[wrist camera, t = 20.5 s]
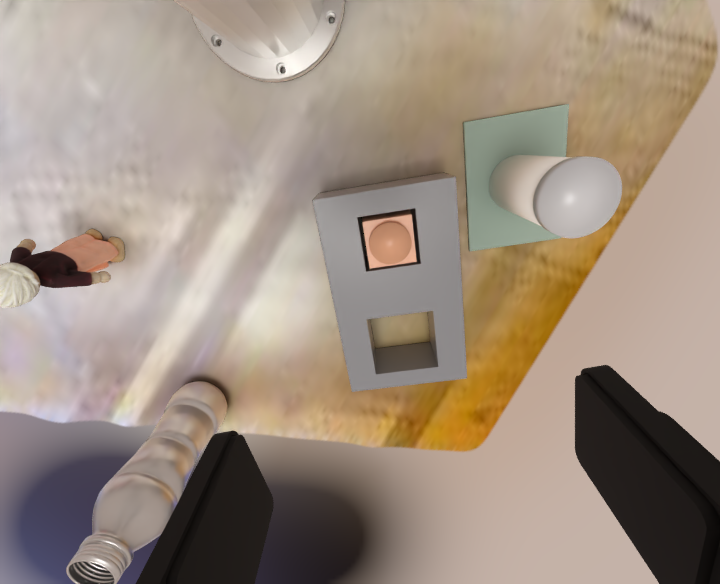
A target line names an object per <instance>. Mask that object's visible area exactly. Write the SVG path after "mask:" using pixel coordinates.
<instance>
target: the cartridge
mask: <svg viewBox="0 0 720 584" xmlns="http://www.w3.org/2000/svg"><path fill="white" fill-rule="evenodd" d="M489 193H490V196H491V198H492V200H493V201H494V203H495V204H496V205H498V206H499V207H501V208H503V209H505V210H507V211H509V212H512V213H514V214H516V215H518V216H520V217H522V218H525V219H527V220H529V221H531V222H533V223H535V224H538V225H540V226H542V227H543V228H544V229H546V230H547V231H549V232H551V233H553V234H555V235H558V236H560V237H564V238H579V237H583V236H586V235H589V234H591V233H593V232H595V231H597V230H598V229H600V228H601V227H602V226H603V225H605V224H606V223H607V222H608V221H609V219H610V218H611V217H612V216H613V214H614V213H615V211H616V209H617V207H618V205H619V202H620V199H621V194H622V182H621V178H620V176H619V173H618V172H617V170H616V169H615V167H614V166H613V165H612V164H610V163H609V162H608V161H606V160H604V159H601V158H597V157H583V156H579V157H572V158H571V157H553V156H535V155H514V156H511V157H508V158H506V159H504V160H503V161H502V162H500V163H499V164H498V165H497V166H496V168H495V169H494V171H493V172H492V174H491V177H490V180H489Z"/></svg>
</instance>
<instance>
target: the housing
mask: <svg viewBox="0 0 720 584" xmlns="http://www.w3.org/2000/svg"><path fill="white" fill-rule="evenodd" d="M312 201H313V206H314V211H315V215H316V220H317V225H318V230H319V235H320V239H321V244H322V249H323V254H324V259H325V264H326V268H327V273H328V278H329V283H330V288H331V293H332V297H333V302H334V307H335V312H336V317H337V322H338V326H339V331H340V336H341V341H342V346H343V351H344V355H345V360H346V365H347V370H348V375H349V380H350V384H351V389H352V392H354V391H362V390H371V389H379V388H388V387H396V386H405V385H413V384H422V383H431V382H439V381H448V380H456V379H465V378H467V369H466V351H465V333H464V315H463V297H462V279H461V261H460V243H459V225H458V207H457V189H456V177H455V176H452V175H449V174H447V173H438V174H432V175H426V176H420V177H414V178H407V179H401V180H395V181H389V182H383V183H377V184H371V185H365V186H359V187H353V188H347V189H341V190H335V191H329V192H322V193H319V194H318V195H317V196H316V197H315V198H314V199H313V200H312ZM407 209H410V212H411V214H412V222H413V231H414V241H415V251H416V260H417V262H411V263H404V264H397V265H391V266H384V267H377V268H370V267H369V261H368V256H366V251H365V244H364V238H363V232H362V226H361V219H360V217H362V216H369V215H375V214H382V213H388V212H394V211H401V210H407ZM426 311H427V312H428V323H429V333H430V342H424V343H416V344H408V345H400V346H392V347H385V348H377V349H375V345H374V339H373V333H372V327H371V321H370V319H374V318H381V317H389V316H396V315H404V314H411V313H419V312H426Z"/></svg>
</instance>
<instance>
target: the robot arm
mask: <svg viewBox="0 0 720 584" xmlns="http://www.w3.org/2000/svg"><path fill="white" fill-rule="evenodd" d="M174 1H175V2H176V3H178V4H179V5H180V6H182V7H183V8H184V9H186V10H187V11H188V12H190V13H191V15H192V18H193V20H194V23H195V25H196V27H197V28H198V30H199V32H200V34H201V36H202V38H203V39H204V40H205V42H206V43H207V44H208V46H209V47H210V48H211V50H212V51H213V52H214V53H215V54H216V55H217V56H218V57H219V58H220V59H221V60H222V61H223V62H224V63H225V64H227V65H228V66H230V67H231V68H233V69H234V70H236V71H237V72H239V73H241V74H243V75H245V76H247V77H250V78H253V79H256V80H260V81H266V82H281V81H289V80H292V79H294V78H297V77H300V76H302V75H304V74H305V73H307V72H308V71H310V70H311V69H313V68H314V67H315V66H316V65H317V64H318V63H319V62H320V61H321V60H322V59H323V58H324V57H325V56H326V54H327V53H328V51H329V50H330V48H331V47H332V45H333V43H334V41H335V39H336V37H337V34H338V32H339V30H340V26H341V22H342V18H343V14H344V7H345V0H174ZM331 17H332V18H334V19H335V21H334V23H332V24H330V23H329V19H330V18H331ZM220 40H221V41H222V44H221V46H218V41H220ZM282 67H285V69H286V71H285V73H281V68H282ZM575 451H576V455H577V458H578V460H579V462H580V464H581V466H582V467H583V469H584V470H585V471H586V473H587V475H588V476H589V478H590V479H591V481H592V482H593V484H594V485H595V486H596V488H597V490H598V491H599V493H600V494H601V496H602V497H603V498H604V500H605V502H606V503H607V505H608V506H609V508H610V509H611V511H612V512H613V514H614V515H615V517H616V519H617V520H618V522H619V523H620V525H621V526H622V528H623V529H624V530H625V532H626V534H627V535H628V537H629V538H630V540H631V541H632V543H633V544H634V546H635V547H636V549H637V550H638V552H639V553H640V555H641V556H642V558H643V559H644V561H645V562H646V564H647V565H648V567H649V569H650V570H651V571H652V573H653V575H654V576H655V578H656V579H657V581H658V582H659V584H720V461H719V460H717V459H716V458H715V457H714V456H713V455H712V454H711V453H710V452H708V450H706V449H705V448H704V447H703V446H702V445H701V444H700V443H699V442H698V441H697V440H695V439H694V438H693V437H692V436H691V435H690V434H689V433H688V432H687V431H686V430H685V429H683V428H682V427H681V426H680V425H679V424H678V423H677V422H676V421H675V420H674V419H672V418H671V417H670V416H668V415H667V414H665V413H663V412H659V411H657V410H656V409H655V408H654V407H653V406H652V405H651V404H650V403H649V402H648V401H647V400H646V399H645V398H643V397H642V396H641V395H640V394H639V393H638V392H637V391H636V390H635V389H634V388H633V387H632V386H631V385H630V384H628V383H627V382H626V381H625V380H624V379H623V378H622V377H621V376H620V375H619V374H618V373H617V372H616V371H614V370H613V369H612V368H611V367H610V366H608V365H603V366H597V367H591V368H585V369H583V370H582V371H581V375H579V376H576V378H575ZM272 511H273V497H272V494H271V492H270V490H269V488H268V486H267V484H266V482H265V480H264V478H263V476H262V474H261V472H260V469H259V468H258V465H257V463H256V461H255V459H254V457H253V455H252V453H251V451H250V449H249V447H248V445H247V443H246V441H245V439H244V437H243V436H242V435H238V433H237V432H236V431H229V432H223V433H218V434H215V435H213V436H212V438H211V439H210V441H209V443H208V445H207V447H206V449H205V451H204V453H203V455H202V457H201V459H200V461H199V463H198V465H197V466H196V468H195V470H194V472H193V474H192V476H191V478H190V480H189V482H188V484H187V486H186V488H185V490H184V492H183V493H182V495H181V497H180V499H179V501H178V503H177V505H176V507H175V509H174V511H173V513H172V515H171V517H170V519H169V521H168V522H167V524H166V526H165V528H164V530H163V532H162V534H161V536H160V538H159V540H158V542H157V544H156V546H155V548H154V550H153V552H152V553H151V555H150V557H149V559H148V561H147V563H146V565H145V567H144V569H143V571H142V573H141V575H140V577H139V579H138V580H137V582H136V584H254V583H255V579H256V575H257V571H258V567H259V563H260V559H261V555H262V551H263V547H264V543H265V539H266V535H267V531H268V527H269V523H270V519H271V515H272Z"/></svg>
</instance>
